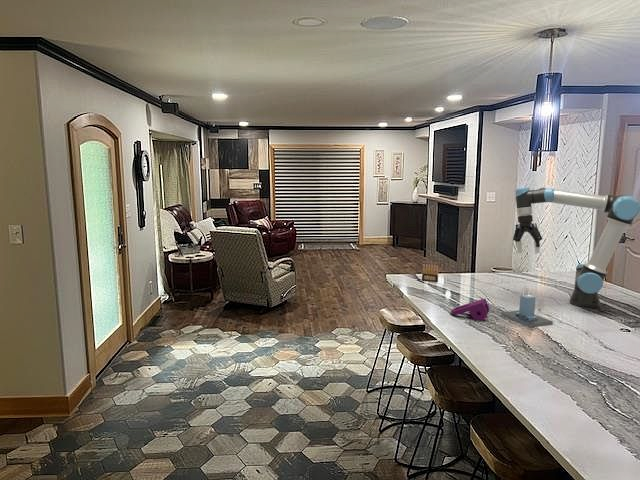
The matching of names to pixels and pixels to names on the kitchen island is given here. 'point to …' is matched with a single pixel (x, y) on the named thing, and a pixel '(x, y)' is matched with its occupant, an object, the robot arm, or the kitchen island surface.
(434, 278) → the ammunition clip
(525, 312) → the block
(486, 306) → the mounting bracket
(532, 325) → the plate
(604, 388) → the kitchen island surface
